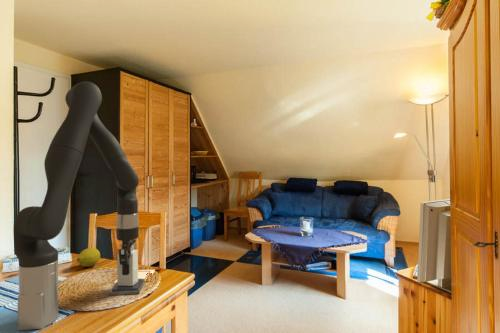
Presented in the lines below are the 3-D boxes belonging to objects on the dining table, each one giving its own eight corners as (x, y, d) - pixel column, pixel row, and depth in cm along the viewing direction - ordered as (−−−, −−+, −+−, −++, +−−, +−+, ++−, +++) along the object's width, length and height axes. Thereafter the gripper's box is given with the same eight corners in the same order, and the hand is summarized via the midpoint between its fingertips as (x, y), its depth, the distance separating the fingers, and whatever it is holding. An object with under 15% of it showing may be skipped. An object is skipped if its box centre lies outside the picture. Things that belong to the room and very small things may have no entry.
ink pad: (139, 293, 102) (139, 288, 102) (109, 295, 101) (109, 290, 101) (145, 282, 112) (145, 277, 112) (117, 283, 111) (117, 279, 111)
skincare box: (138, 281, 109) (138, 249, 108) (132, 286, 104) (132, 253, 104) (122, 280, 109) (122, 249, 109) (116, 285, 105) (116, 252, 105)
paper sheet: (149, 281, 113) (149, 280, 113) (114, 283, 111) (114, 282, 111) (154, 270, 125) (154, 269, 125) (123, 271, 123) (123, 270, 123)
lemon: (94, 261, 136) (94, 244, 136) (105, 264, 132) (105, 246, 132) (71, 268, 127) (70, 250, 126) (81, 271, 123) (81, 253, 123)
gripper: (133, 229, 100) (133, 279, 100) (142, 221, 114) (142, 264, 114) (110, 230, 99) (110, 280, 99) (122, 221, 113) (122, 265, 113)
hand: (127, 271), depth 107 cm, fingers closed on skincare box, 5 cm apart
